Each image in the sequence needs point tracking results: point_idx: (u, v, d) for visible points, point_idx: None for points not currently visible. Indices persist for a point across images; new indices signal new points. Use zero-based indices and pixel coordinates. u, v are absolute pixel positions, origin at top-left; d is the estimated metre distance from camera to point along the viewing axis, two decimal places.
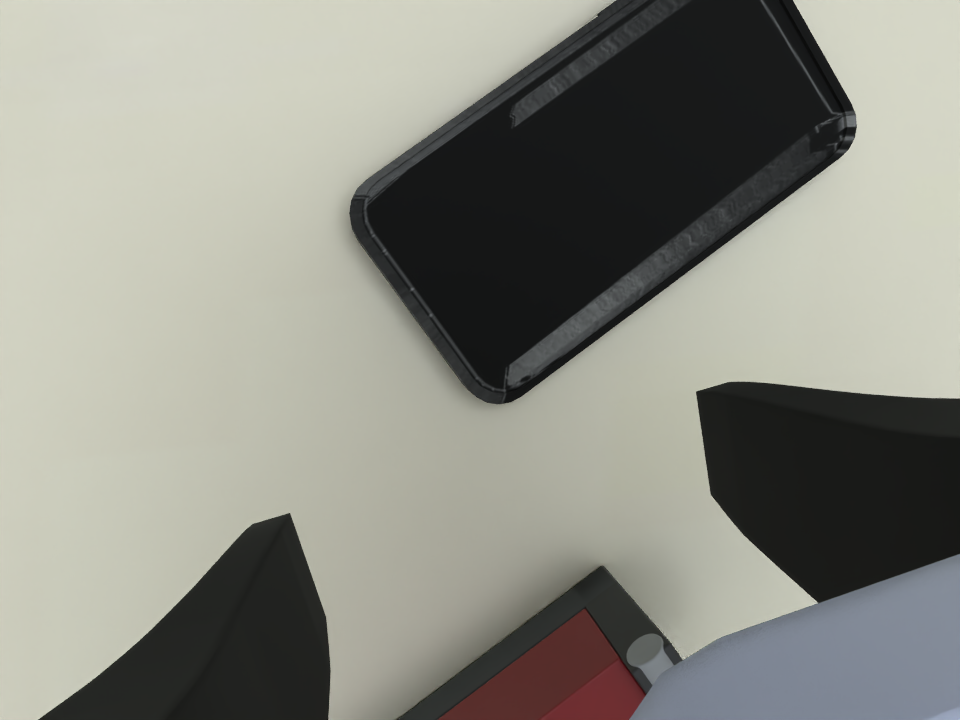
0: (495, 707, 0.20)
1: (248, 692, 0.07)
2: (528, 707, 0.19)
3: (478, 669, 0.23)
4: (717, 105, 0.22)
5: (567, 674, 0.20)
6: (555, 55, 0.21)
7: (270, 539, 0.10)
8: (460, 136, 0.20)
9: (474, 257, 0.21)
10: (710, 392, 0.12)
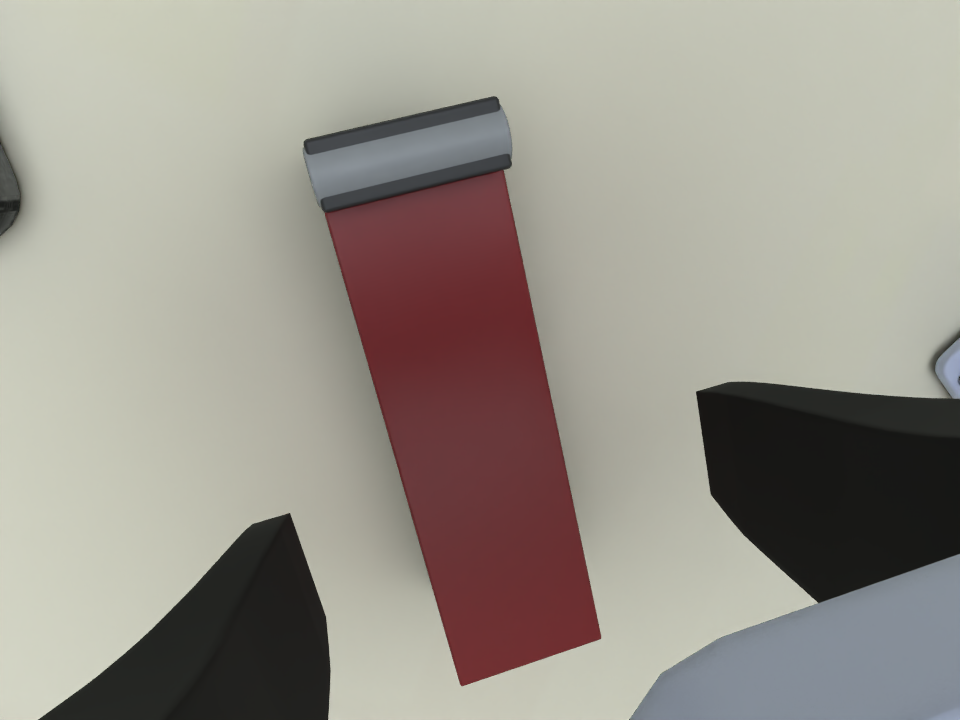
0: None
1: (248, 692, 0.07)
2: None
3: None
4: None
5: None
6: None
7: (270, 539, 0.10)
8: None
9: None
10: (710, 392, 0.12)
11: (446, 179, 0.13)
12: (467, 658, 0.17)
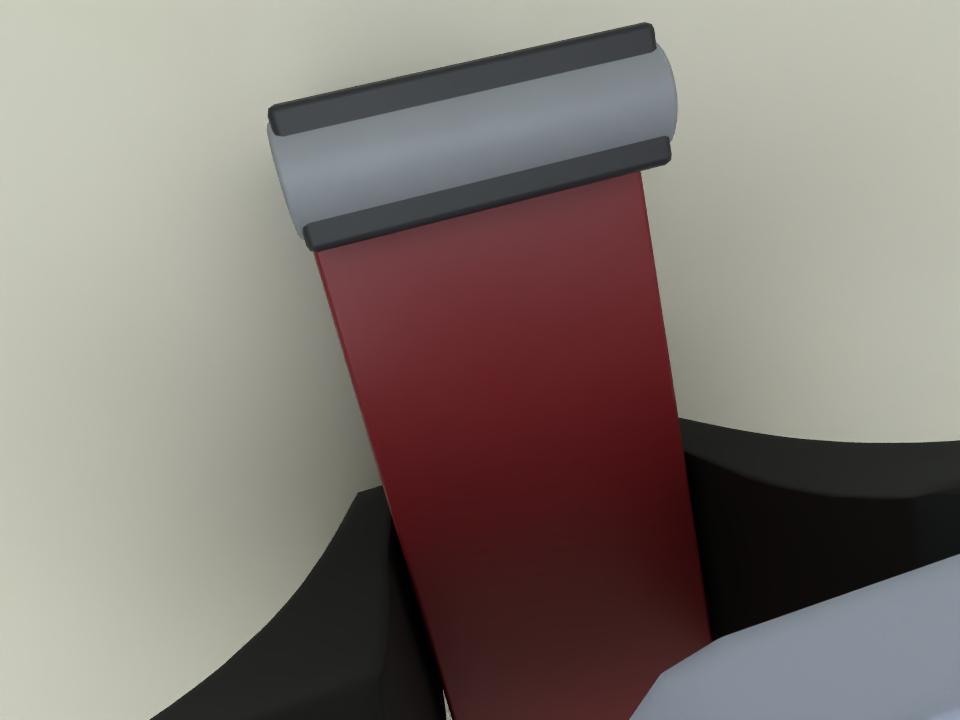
0: None
1: (406, 640, 0.08)
2: None
3: None
4: None
5: None
6: None
7: None
8: None
9: None
10: None
11: (549, 186, 0.07)
12: None
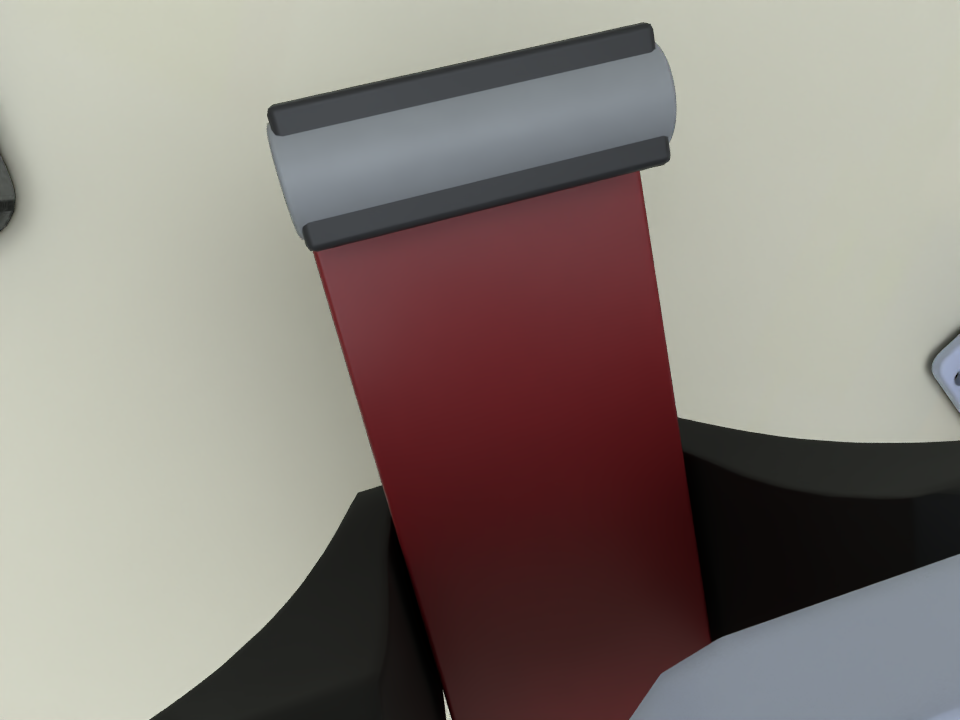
0: None
1: (406, 640, 0.08)
2: None
3: None
4: None
5: None
6: None
7: None
8: None
9: None
10: None
11: (548, 185, 0.07)
12: None
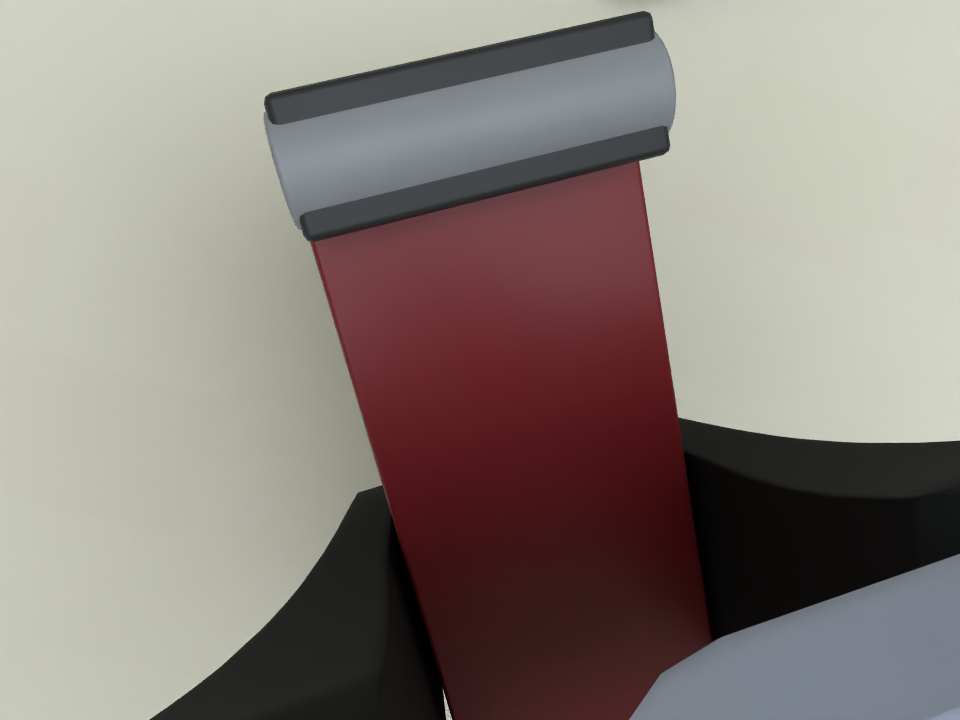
0: None
1: (406, 640, 0.08)
2: None
3: None
4: None
5: None
6: None
7: None
8: None
9: None
10: None
11: (547, 175, 0.07)
12: None
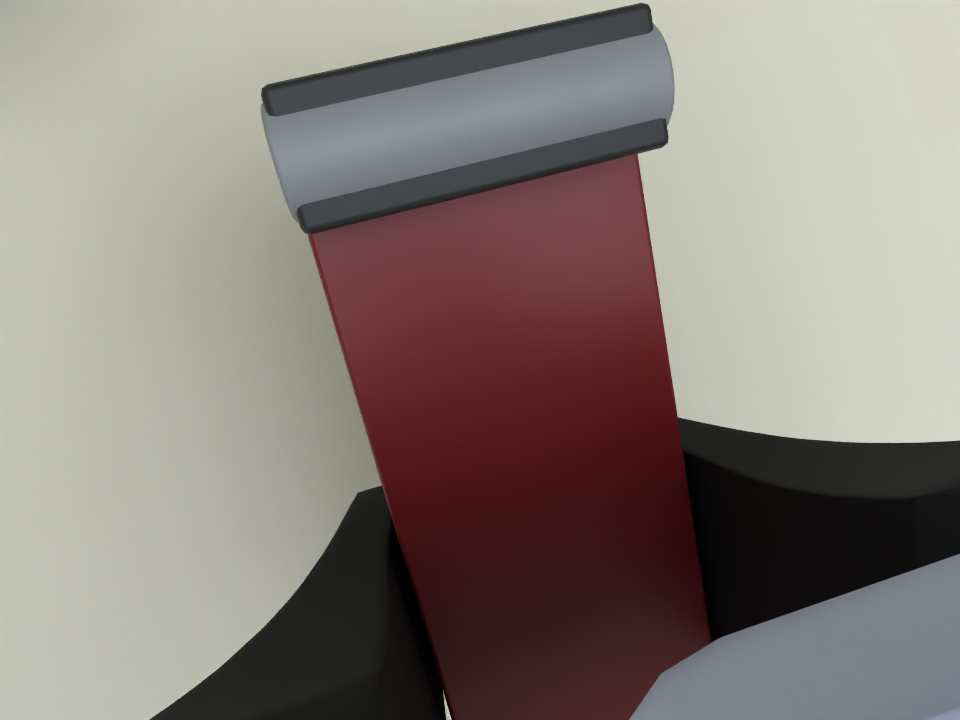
0: None
1: (406, 640, 0.08)
2: None
3: None
4: None
5: None
6: None
7: None
8: None
9: None
10: None
11: (545, 168, 0.07)
12: None
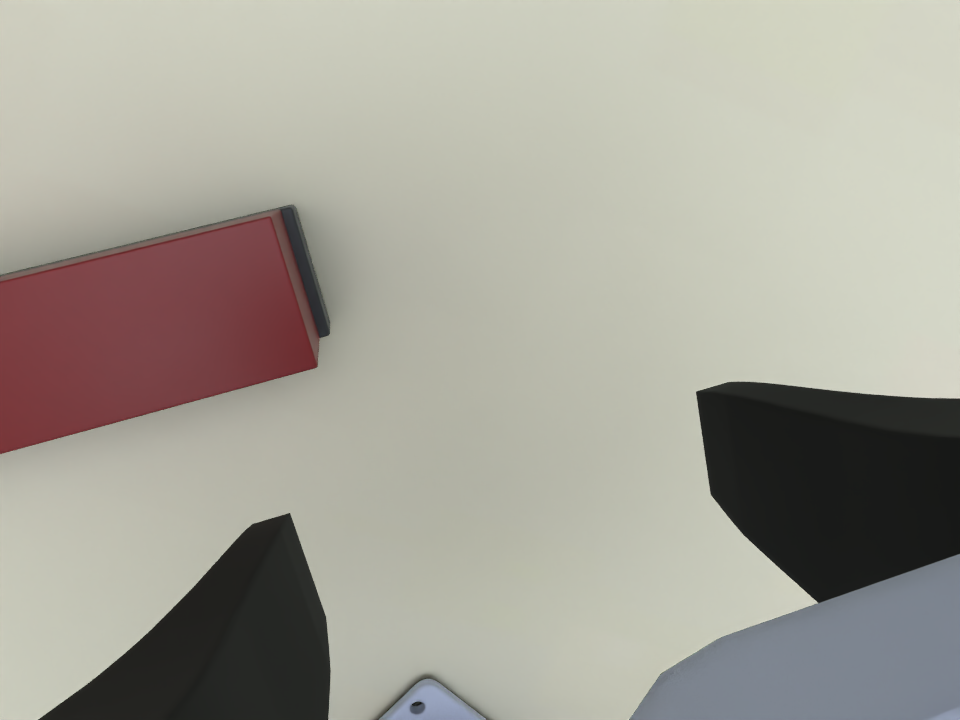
0: None
1: (248, 692, 0.07)
2: None
3: None
4: None
5: None
6: None
7: (270, 539, 0.10)
8: None
9: None
10: (710, 392, 0.12)
11: None
12: (282, 363, 0.16)
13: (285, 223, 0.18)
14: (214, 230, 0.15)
